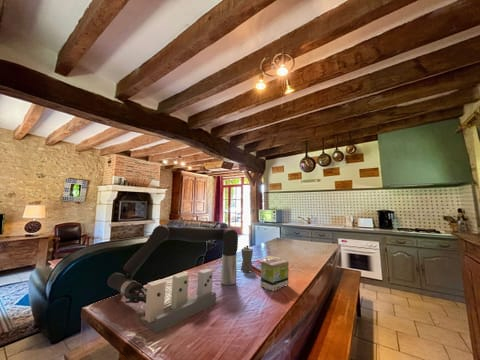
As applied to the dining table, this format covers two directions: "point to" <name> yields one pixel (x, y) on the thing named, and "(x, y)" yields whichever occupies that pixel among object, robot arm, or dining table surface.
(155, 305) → the tile one
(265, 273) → the tea box
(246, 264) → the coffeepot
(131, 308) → the dining table surface
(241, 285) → the dining table surface
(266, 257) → the candle holder
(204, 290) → the tile three
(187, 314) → the tile stand
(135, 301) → the robot arm
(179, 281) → the tile two
